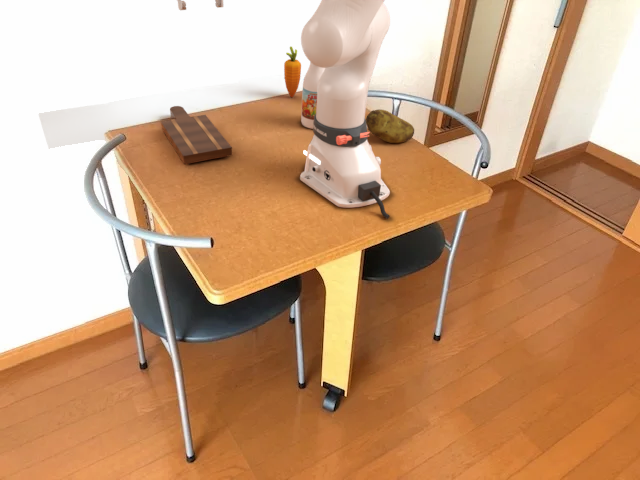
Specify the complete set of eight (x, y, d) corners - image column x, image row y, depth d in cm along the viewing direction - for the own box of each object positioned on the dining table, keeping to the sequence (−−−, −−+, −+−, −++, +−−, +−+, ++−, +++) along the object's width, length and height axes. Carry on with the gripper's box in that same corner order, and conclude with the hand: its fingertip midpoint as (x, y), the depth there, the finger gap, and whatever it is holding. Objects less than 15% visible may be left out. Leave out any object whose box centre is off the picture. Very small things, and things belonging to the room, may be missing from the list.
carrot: (299, 101, 166) (301, 51, 157) (282, 100, 166) (283, 50, 157) (300, 94, 170) (302, 45, 161) (284, 93, 170) (285, 44, 161)
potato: (408, 151, 145) (413, 122, 140) (361, 141, 147) (364, 113, 142) (414, 137, 151) (418, 110, 146) (368, 129, 154) (371, 102, 149)
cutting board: (232, 158, 136) (231, 146, 134) (184, 167, 131) (183, 155, 129) (196, 113, 156) (196, 102, 154) (154, 119, 151) (152, 108, 149)
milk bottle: (296, 119, 156) (299, 48, 144) (321, 116, 159) (325, 46, 147) (307, 131, 150) (311, 58, 138) (333, 127, 153) (338, 55, 141)
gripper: (155, -51, 121) (162, 14, 130) (242, -53, 130) (244, 8, 138) (148, -56, 126) (155, 7, 134) (233, -58, 134) (235, 2, 142)
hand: (201, 8), depth 136 cm, fingers open, 8 cm apart
